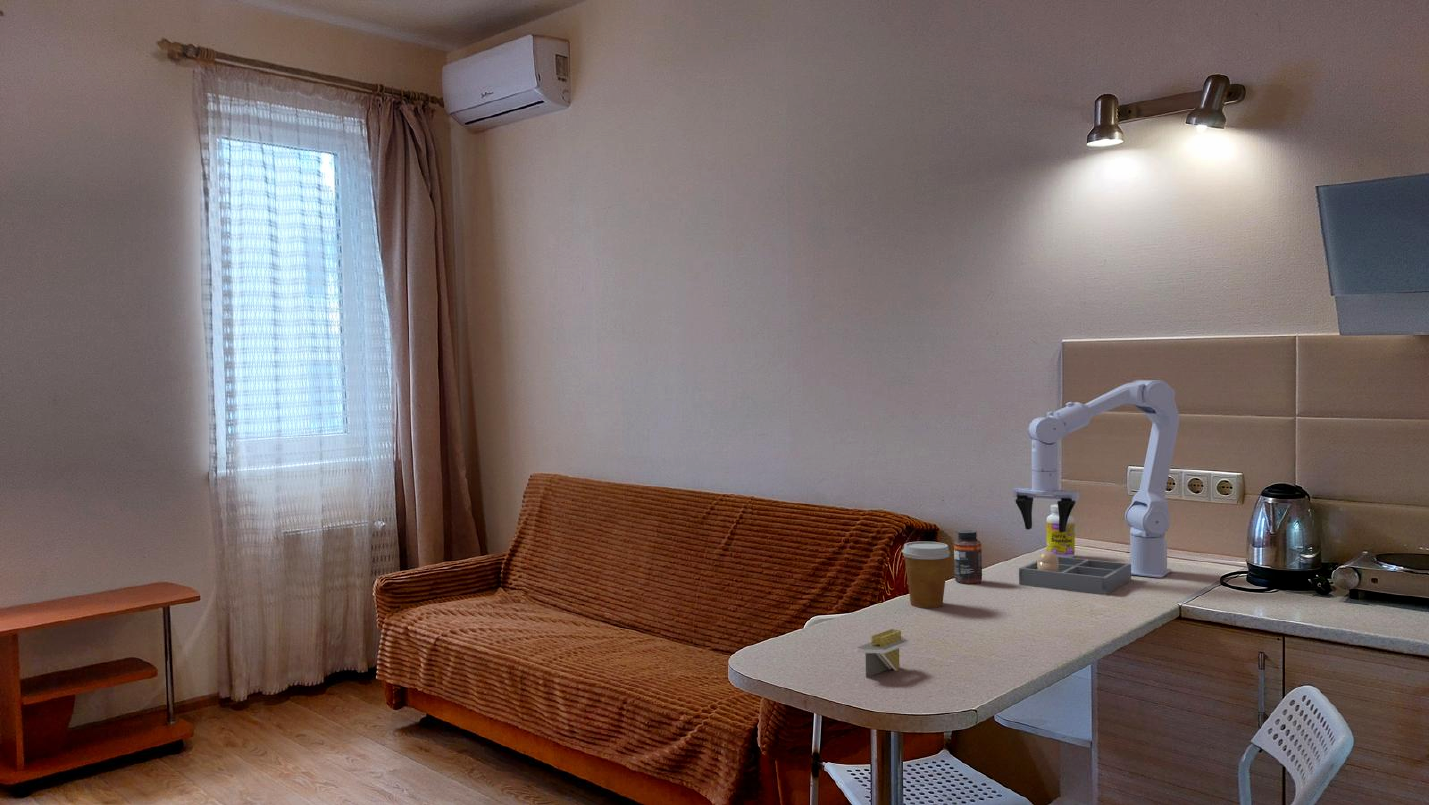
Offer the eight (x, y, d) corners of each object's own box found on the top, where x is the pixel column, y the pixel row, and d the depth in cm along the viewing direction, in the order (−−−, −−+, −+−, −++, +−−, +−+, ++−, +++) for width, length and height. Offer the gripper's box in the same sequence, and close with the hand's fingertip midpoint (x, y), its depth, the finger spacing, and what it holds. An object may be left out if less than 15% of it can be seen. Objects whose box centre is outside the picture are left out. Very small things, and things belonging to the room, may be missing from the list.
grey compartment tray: (1048, 570, 230) (1048, 555, 230) (1131, 579, 218) (1131, 563, 218) (1019, 584, 215) (1019, 568, 215) (1106, 594, 204) (1106, 578, 204)
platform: (950, 670, 156) (949, 629, 156) (884, 698, 143) (884, 653, 143) (886, 655, 164) (886, 616, 164) (819, 680, 151) (818, 638, 151)
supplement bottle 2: (1047, 558, 244) (1047, 507, 243) (1045, 554, 250) (1045, 503, 250) (1076, 559, 242) (1075, 507, 242) (1073, 554, 248) (1073, 504, 248)
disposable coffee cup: (955, 601, 200) (954, 542, 200) (945, 611, 192) (944, 550, 191) (908, 597, 204) (908, 539, 204) (897, 607, 196) (896, 547, 195)
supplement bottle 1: (979, 578, 222) (979, 528, 221) (984, 584, 216) (983, 533, 215) (952, 578, 222) (952, 528, 222) (956, 584, 216) (956, 533, 216)
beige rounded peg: (1041, 574, 219) (1041, 548, 219) (1061, 577, 216) (1061, 550, 216) (1034, 578, 216) (1034, 551, 215) (1054, 580, 213) (1054, 553, 213)
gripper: (1007, 470, 224) (1007, 530, 224) (1071, 473, 215) (1071, 535, 215) (1018, 467, 230) (1018, 525, 230) (1081, 470, 221) (1082, 531, 221)
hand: (1045, 530), depth 223 cm, fingers open, 7 cm apart
